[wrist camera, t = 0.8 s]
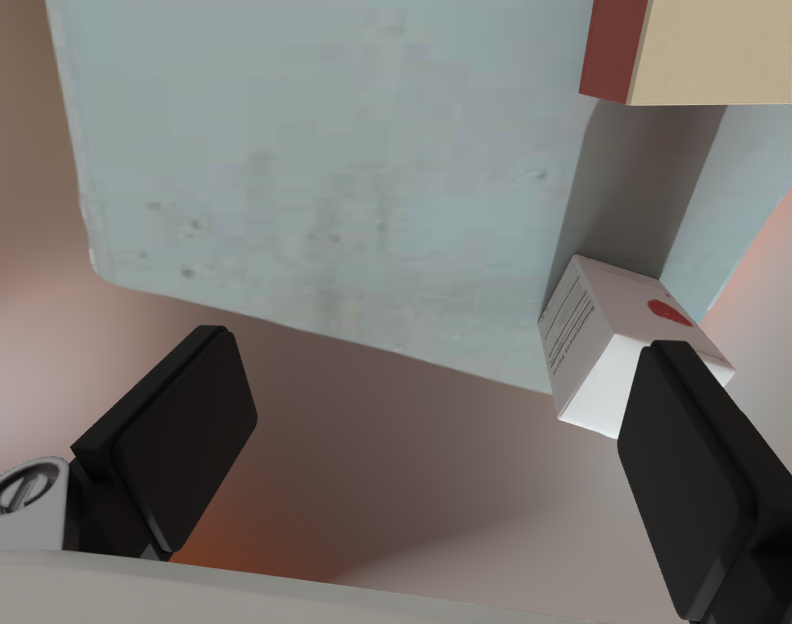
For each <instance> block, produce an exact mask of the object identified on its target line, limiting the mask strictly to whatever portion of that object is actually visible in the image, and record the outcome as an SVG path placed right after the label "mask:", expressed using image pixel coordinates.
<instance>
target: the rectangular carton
mask: <svg viewBox="0 0 792 624" xmlns="http://www.w3.org/2000/svg"><path fill="white" fill-rule="evenodd" d="M538 328H539V332H540V336H541V341H542V346H543V350H544V355H545V359H546V364H547V369H548V373H549V378H550V383H551V387H552V392H553V396H554V401H555V406H556V411H557V418H558V419H559V420H562V421H565V422H568V423H571V424H574V425H577V426H581V427H584V428H587V429H590V430H593V431H596V432H599V433H602V434H603V435H606V436H608V437H611V438H614V439H618V436H619V432H620V428H621V424H622V420H623V416H624V413H625V409H626V405H627V401H628V397H629V394H630V390H631V386H632V382H633V378H634V375H635V371H636V367H637V363H638V359H639V355H640V352H641V349H642V348H643V347H644V346H650V345H651V343H652V342H653V341H654V340H680V341H687V342H688V343H689V344H690V345H691V346H692V348H693V349H694V350H695V351H696V353H697V354H698V355H699V357H700V358H701V359H702V361H703V362H704V363H705V365H706V366H707V367H708V368H709V370H710V371H711V372H712V374H713V375H714V376H715V378H716V379H717V380H718V382H719V383H720V384H721V386H722V387H724V386H725V385H726V384H727V382H728V381H729V380H730V379H731V378H732V376H733V375H734V374H735V373H736V369H735V368H734V367H733V366H732V365H731V364H730V362H729V361H728V360H727V359H726V358H725V357H724V355H723V354H722V353H721V352H720V351H719V349H718V348H717V347H716V346H715V345H714V344H713V343H712V341H711V340H710V339H709V338H708V337H707V336H706V334H705V333H704V332H703V331H702V330H701V329H700V328H699V326H698V325H697V324H696V323H695V322H694V320H693V319H692V318H691V317H690V316H689V315H688V313H687V312H686V311H685V310H684V309H683V308H682V307H681V305H680V304H679V303H678V302H677V301H676V300H675V298H674V297H673V296H672V295H671V294H670V293H669V291H668V290H667V289H666V288H665V287H664V285H663V284H662V283H661V282H660V281H659V280H657V279H654V278H651V277H648V276H645V275H642V274H638V273H635V272H632V271H629V270H626V269H623V268H619V267H616V266H613V265H610V264H607V263H604V262H600V261H597V260H594V259H591V258H588V257H584V256H581V255H578V254H574V255H573V256H572V258H571V260H570V262H569V264H568V266H567V268H566V270H565V272H564V274H563V275H562V277H561V279H560V281H559V283H558V285H557V287H556V289H555V291H554V293H553V295H552V297H551V299H550V301H549V303H548V305H547V307H546V309H545V311H544V313H543V315H542V317H541V318H540V320H539V323H538Z"/></svg>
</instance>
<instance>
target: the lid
mask: <svg viewBox="0 0 792 624" xmlns="http://www.w3.org/2000/svg"><path fill="white" fill-rule="evenodd" d="M736 104H792V0H648V3H647V8H646V12H645V17H644V21H643V26H642V31H641V35H640V40H639V45H638V49H637V54H636V58H635V63H634V68H633V72H632V77H631V81H630V86H629V91H628V95H627V100H626V105H630V106H642V105H736Z"/></svg>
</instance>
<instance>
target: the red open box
mask: <svg viewBox="0 0 792 624" xmlns="http://www.w3.org/2000/svg"><path fill="white" fill-rule="evenodd" d="M647 3H648V0H594V4H593V10H592V16H591V22H590V28H589V34H588V40H587V46H586V52H585V58H584V64H583V70H582V76H581V82H580V88H579V93H580V94H584V95H588V96H592V97H597V98H601V99H605V100H609V101H613V102H618V103H622V104H626V100H627V95H628V91H629V86H630V81H631V77H632V72H633V68H634V63H635V58H636V54H637V49H638V45H639V40H640V35H641V31H642V26H643V21H644V17H645V12H646V8H647Z"/></svg>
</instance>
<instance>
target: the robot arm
mask: <svg viewBox="0 0 792 624" xmlns="http://www.w3.org/2000/svg"><path fill="white" fill-rule="evenodd" d="M256 424H257V411H256V408H255V404H254V401H253V398H252V394H251V391H250V387H249V384H248V381H247V377H246V374H245V371H244V367H243V364H242V360H241V357H240V354H239V350H238V347H237V343H236V340H235V337H234V335H233V333H232V332H229V331H228V329H227V328H226V327H224V326H215V325H200V326H198V327H197V328H195V329H194V331H192V332H191V333H190V334H189V335H188V336H187V337H186V338H185V339H184V340H183V341H182V342H181V343H180V344H179V345H177V346H176V347H175V348H174V349H173V350H172V351H171V352H170V353H169V354H168V355H167V356H166V357H165V358H164V359H163V360H162V361H161V362H160V363H158V364H157V365H156V366H155V367H154V368H153V369H152V370H151V371H150V372H149V373H148V374H147V375H146V376H145V377H144V378H143V379H141V380H140V381H139V382H138V383H137V384H136V385H135V386H134V387H133V388H132V389H131V390H130V391H129V392H128V393H127V394H126V395H124V396H123V397H122V398H121V399H120V400H119V401H118V402H117V403H116V404H115V405H114V406H113V407H112V408H111V409H110V410H109V411H108V412H107V413H106V414H104V415H103V416H102V417H101V418H100V419H99V420H98V421H97V422H96V423H95V424H94V425H93V426H92V427H91V428H89V429H88V430H87V431H86V432H85V433H84V434H83V435H82V436H81V437H80V438H79V439H78V440H77V441H76V442H75V443H74V444H73V445H71V446H70V448H71V449H72V451H73V453H74V455H75V456H76V457H75V458H74V459H73V460H72V461H71V462H70V463H69V464H68V462H67V461H66V460H64V459H63V458H61V457H55V456H48V457H40V458H37V459H33V460H30V461H27V462H24V463H22V464H20V465H18V466H15V467H13V468H12V469H10V470H8V471H6V472H5V473H3V474H1V475H0V624H611V623H604V622H597V621H591V620H584V619H576V618H570V617H563V616H556V615H549V614H542V613H535V612H528V611H521V610H514V609H507V608H500V607H493V606H485V605H479V604H471V603H465V602H457V601H451V600H444V599H436V598H429V597H422V596H415V595H407V594H401V593H393V592H386V591H379V590H371V589H364V588H357V587H350V586H342V585H334V584H328V583H320V582H313V581H305V580H298V579H291V578H283V577H276V576H269V575H261V574H254V573H246V572H238V571H230V570H223V569H216V568H208V567H200V566H193V565H185V564H177V563H169V562H168V561H169V560H170V558H171V556H172V555H173V553H174V552H177V551H179V550H180V549H181V548H182V547H183V545H184V544H185V542H186V541H187V539H188V537H189V536H190V534H191V533H192V531H193V529H194V527H195V526H196V524H197V523H198V521H199V519H200V518H201V516H202V514H203V513H204V511H205V509H206V508H207V506H208V504H209V503H210V501H211V500H212V498H213V496H214V495H215V493H216V491H217V490H218V488H219V486H220V485H221V483H222V482H223V480H224V478H225V477H226V475H227V473H228V472H229V470H230V468H231V467H232V465H233V463H234V462H235V460H236V458H237V457H238V455H239V454H240V452H241V450H242V449H243V447H244V445H245V444H246V441H247V440H248V439H249V437H250V435H251V434H252V432H253V430H254V429H255V427H256ZM617 446H618V454H619V457H620V460H621V463H622V465H623V468H624V471H625V474H626V476H627V479H628V481H629V484H630V487H631V489H632V493H633V495H634V498H635V501H636V503H637V506H638V509H639V512H640V515H641V517H642V520H643V523H644V526H645V528H646V531H647V534H648V537H649V539H650V542H651V545H652V547H653V550H654V553H655V556H656V558H657V561H658V564H659V567H660V569H661V572H662V575H663V577H664V580H665V583H666V586H667V589H668V591H669V594H670V596H671V599H672V602H673V605H674V607H675V610H676V612H677V614H678V615H679V617H680V618H681V619H684V620H689V623H690V624H792V475H791V474H790V472H789V471H788V470H787V469H786V467H785V466H784V465H783V463H782V462H781V461H780V459H779V458H778V457H777V456H776V454H775V453H774V452H773V450H772V449H771V448H770V446H769V445H768V444H767V442H766V441H765V440H764V439H763V437H762V436H761V435H760V433H759V432H758V431H757V429H756V428H755V427H754V426H753V424H752V423H751V422H750V420H749V419H748V418H747V416H746V415H745V414H744V413H743V412H742V411H741V410H740V409H739V408H738V406H737V405H736V404H735V403H734V401H733V400H732V399H731V398H730V396H729V395H728V393H727V392H726V391H725V389H724V388H723V387H722V386H721V384H720V383H719V382H718V380H717V379H716V378H715V376H714V375H713V374H712V372H711V371H710V370H709V368H708V367H707V366H706V365H705V363H704V362H703V361H702V359H701V358H700V357H699V355H698V354H697V353H696V351H695V350H694V349H693V348H692V346H691V345H690V344H689V343H688V342H687V341H680V340H654V341H653V342H652V343H651V345H650V346H644V347H643V348H642V349H641V352H640V355H639V359H638V363H637V367H636V371H635V375H634V378H633V382H632V386H631V390H630V394H629V397H628V401H627V405H626V409H625V413H624V416H623V420H622V424H621V428H620V432H619V436H618V441H617Z"/></svg>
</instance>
